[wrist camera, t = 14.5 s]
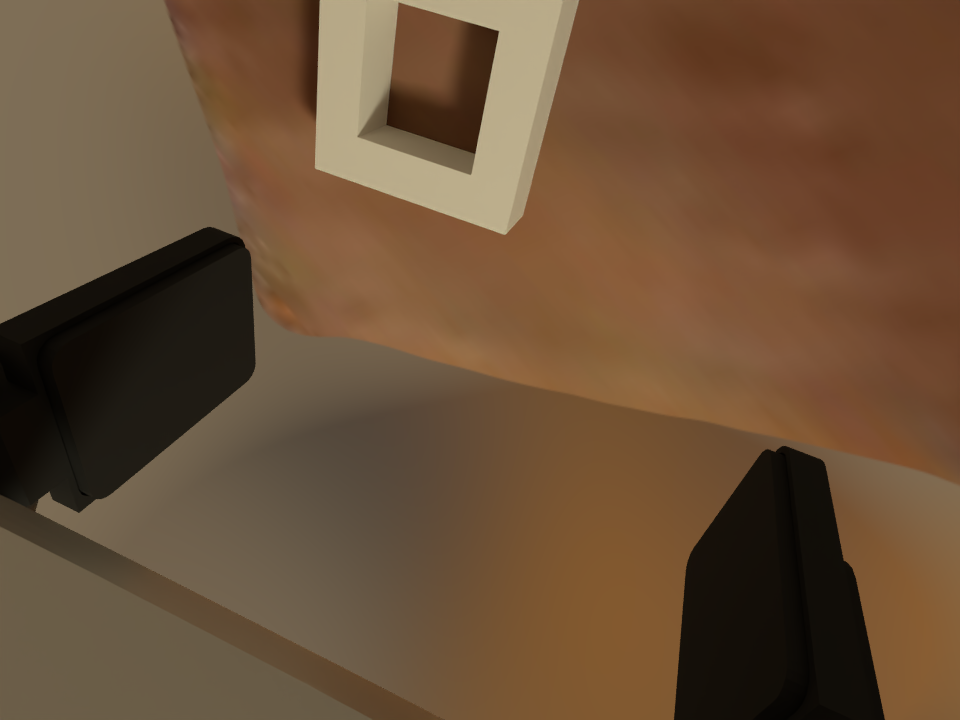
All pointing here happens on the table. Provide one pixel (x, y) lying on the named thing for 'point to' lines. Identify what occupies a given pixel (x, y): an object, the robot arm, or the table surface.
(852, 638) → the robot arm
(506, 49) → the collar
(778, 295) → the table surface
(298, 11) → the table surface
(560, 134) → the table surface
